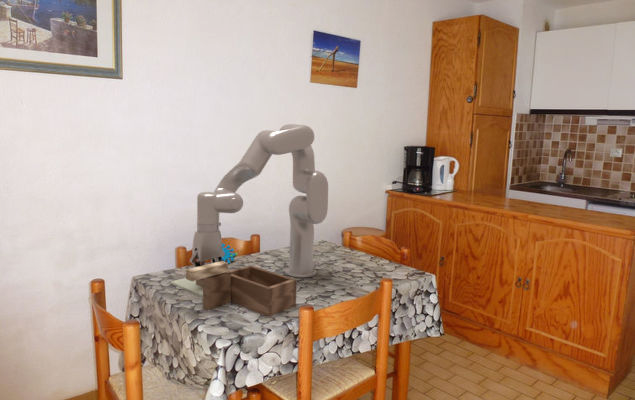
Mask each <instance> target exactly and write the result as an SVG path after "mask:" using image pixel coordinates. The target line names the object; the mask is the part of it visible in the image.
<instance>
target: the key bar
mask: <svg viewBox="0 0 635 400" xmlns="http://www.w3.org/2000/svg"><path fill="white" fill-rule="evenodd" d="M228 271H229V264H228V263H227V261H225V262H224V261H223V260H222V261H220V262H215V263H212V262H211V263H208V264H204V265H203V266H199V267H196V266H194V267H191V268H188V269H185V278H186V279H187V280H190V281H195V280H199V279H203V278H207V277H210V276H214V275H218V274H221V273H225V272H228Z"/></svg>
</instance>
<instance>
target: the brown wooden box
mask: <svg viewBox="0 0 635 400" xmlns="http://www.w3.org/2000/svg"><path fill="white" fill-rule="evenodd" d="M297 285H298V280H297V279H296V278H294V277H293V278H292V277H291V276H285V275H283V274H280V273H276V272H273V271H270V270H267V269H263V268H262V267H259V266H258V267H257V266H254V265H246V266H243V267H239V268H236V269H232V270H228V272H225V273H221V274H218V275H214V276H210V277H207V278H203V297H202V308H203V309H206V310H207V311H210V310H213V309H217V308H219V307H222V306H225V305H229V304H230V303H232V304H234V305H238V306H239V307H243V308H245V309H247V310H250V311H251V312H252V311H253V312H255V313H258V314H259V315H262V316H265V317H267V318H269V317H271V316H274V315H277V314H279V313H282V312H284V311H286V310H289V309H291V308H294V307H296V306H297Z"/></svg>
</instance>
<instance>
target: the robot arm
mask: <svg viewBox="0 0 635 400" xmlns="http://www.w3.org/2000/svg"><path fill="white" fill-rule="evenodd" d="M314 140H315V133H314V130H313V129H312V128H311V127H310V126H308V125H305V124H291V123H290V124H289V123H288V124H284V125H282V126H281V127H280V128H279V130H269V129H268V130H267V129H266V130H262V131H260V132H258V133H257V135H256V136H255V138H254V139H253V140H252V142H251V143H250V145H249V147H248V148H247V150H246V151H245V153H244V155H243V156H242V158H241V159H240V160H239V162H238V163H237V164H236V165H234V166H233V167H232V168H231V169H230V170H229V171H228V172H226V173H225V175H224V176H223V177H222V179H220V181H219V183H218V184H217V186H216V188H215V189H214V191H203V192H200V193H198V194H197V196H196V197H197V198H196V199H197V202H196V203H197V204H196V205H197V206H196V207H197V208H196V209H197V211H196V214H197V215H196V216H197V217H196V219H197V220H196V223H197V225H196V231H195V233H194V236H193V240H192V241H193V242H192V251H191V253H192V254H191V257H190V259H189V262H190V263H191V264H193V266H194V267H199V266H203V265H205V262H206V261H209V260H211V263H215V262H220V261H221V259H222V258H223V256H224V255H225V253H224V251H223V250H222V244H223V240H222V234H221V230H220V226H222V223H221V222H220V213H222V214H237V212H240V211H241V210H242V209H243V206H244V200H243V198H242V196H241V195H240V194H239V193H237V191H238V190H239V188H240V187H241V186H243V185H244V184H245V183H247V182H248V181H250V180H252V179H254V178H257V177H258V176H260V175H261V173H262V172H263V170H264V168H265V167H266V165H267V163H268V162H269V160H270V159H271V157H272V156H273V155H274V156H280V155H286V154H290V153H291V156H292V186H293V189H295V191H297V192H298V193H302V194H306V195H301V194H300V195H296V196H294V197H293V198H292V199H291V200H290V202H289V205H288V214H289V221H290V223H289V224H290V225H289V226H290V233H289V234H290V235H289V255H288V257H289V260H288V261H289V262H288V267H286V268H285V269H284V273H285V274H286V275H287V276H288V277H291V278H292V277H293V278H310V277H314V276H316V274H317V270H316V269H315V268H314V267H315V266H318V265H320V261H319V260H318V259H317V260H314V240H315V226H314V225H319V224H321V223H323V222H324V221H325V219H326V217H327V215H328V211H329V210H328V207H329V181H328V179H327V176H326V175H325V174H324V173H322V172H321V171H319V170H316V169H315V167H316V166H315V163H316V162H315V152H314V149H313V147H312V144H313V143H314ZM201 280H203V279H201Z"/></svg>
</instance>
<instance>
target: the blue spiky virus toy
mask: <svg viewBox="0 0 635 400" xmlns="http://www.w3.org/2000/svg"><path fill="white" fill-rule="evenodd" d="M225 246H226V244H225V243H222V250H223V251H224V253H225V255H224V256H223V258H222V259H221V261H224V262H227V263H228V265H230V264H231V262H233V261H235V258H236V257H237V256H238V252H234V250H235V249H234V248H231V246H230V245H229V244H228V245H227V246H226V247H225ZM230 248H231V249H230Z"/></svg>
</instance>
